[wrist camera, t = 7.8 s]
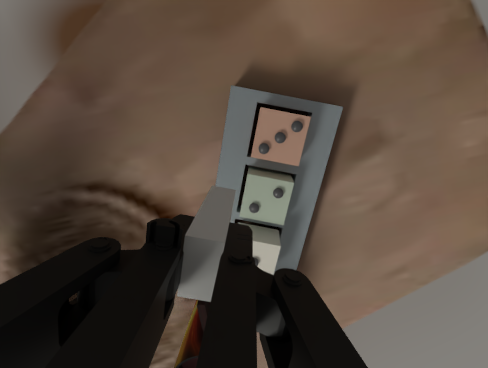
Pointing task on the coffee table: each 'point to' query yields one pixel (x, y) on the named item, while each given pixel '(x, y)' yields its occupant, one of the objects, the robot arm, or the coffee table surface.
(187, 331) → the mug
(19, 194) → the coffee table surface
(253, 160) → the keypad board
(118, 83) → the coffee table surface
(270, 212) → the key two
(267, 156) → the key three
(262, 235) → the key one
